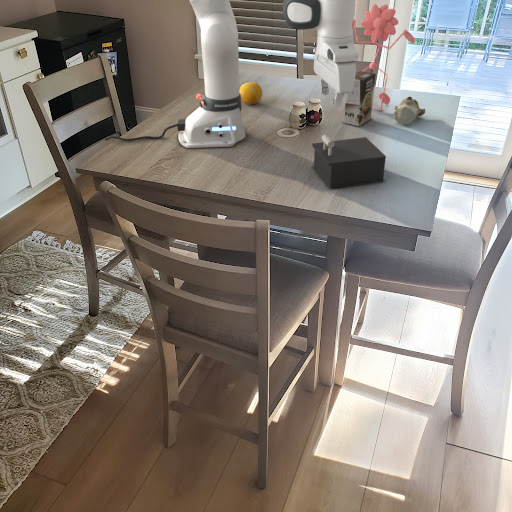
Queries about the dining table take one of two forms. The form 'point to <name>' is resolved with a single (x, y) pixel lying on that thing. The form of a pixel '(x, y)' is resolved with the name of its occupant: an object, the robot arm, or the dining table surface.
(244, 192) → the dining table surface
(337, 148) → the lid
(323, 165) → the black lidded box
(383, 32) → the figurine
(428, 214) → the dining table surface
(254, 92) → the fruit
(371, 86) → the coffee box
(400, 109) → the ceramic sculpture
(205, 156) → the dining table surface
